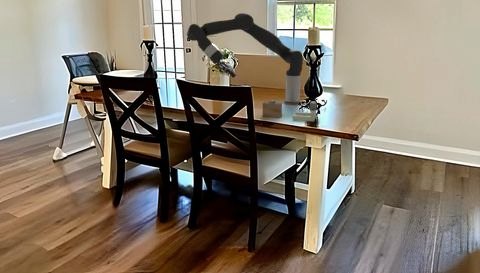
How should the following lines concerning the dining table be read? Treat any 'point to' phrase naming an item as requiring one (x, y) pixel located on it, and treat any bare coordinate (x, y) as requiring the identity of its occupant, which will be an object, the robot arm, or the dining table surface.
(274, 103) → the slider block
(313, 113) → the mount
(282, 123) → the dining table surface
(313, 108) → the knob
